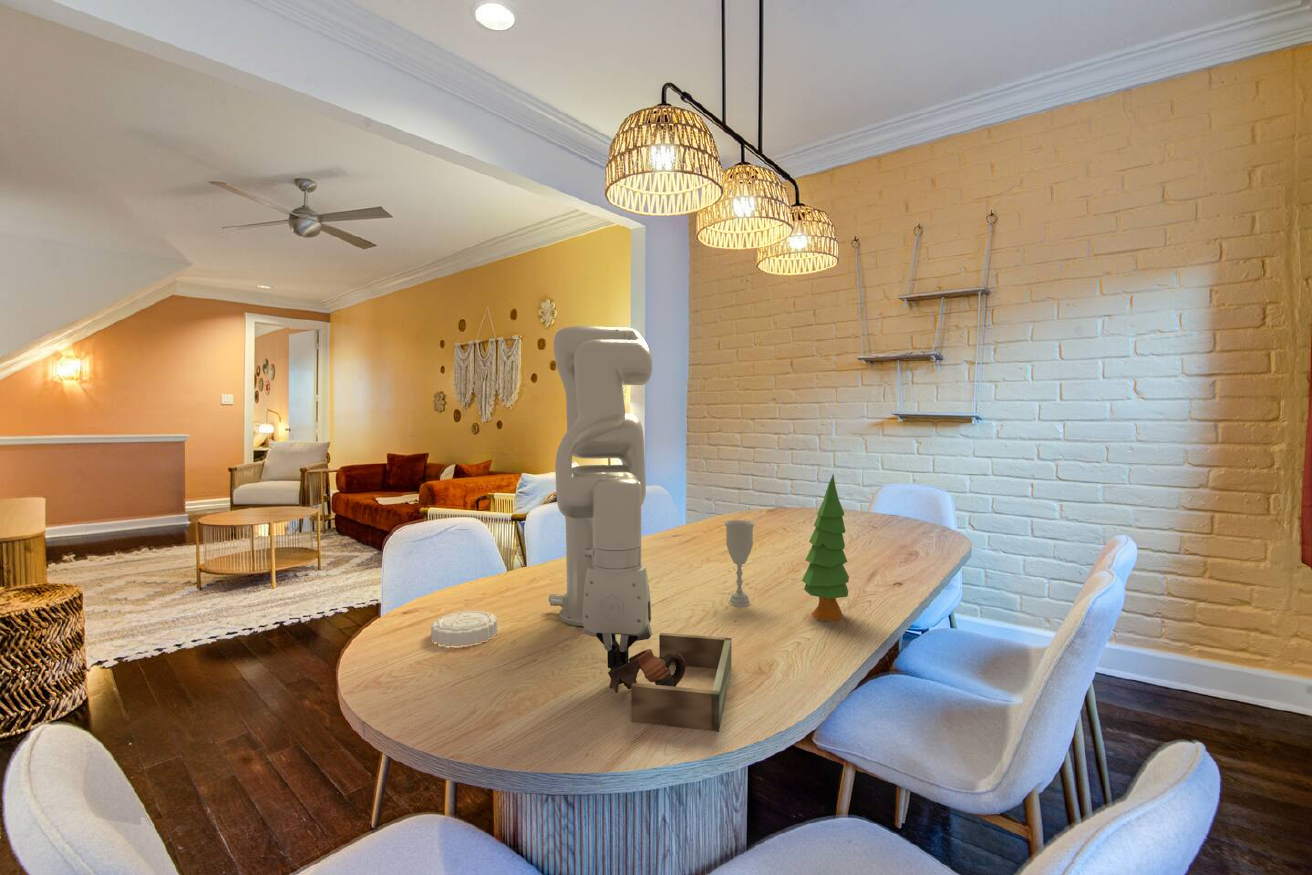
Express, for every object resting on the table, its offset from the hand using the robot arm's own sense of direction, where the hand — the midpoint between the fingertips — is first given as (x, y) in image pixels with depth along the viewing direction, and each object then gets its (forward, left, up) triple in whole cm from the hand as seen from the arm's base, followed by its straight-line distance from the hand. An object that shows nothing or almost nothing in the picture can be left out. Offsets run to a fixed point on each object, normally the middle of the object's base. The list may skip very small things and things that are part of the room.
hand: (618, 672), depth 91 cm
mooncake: (-34, +13, -2) cm, 37 cm away
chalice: (+16, +43, -2) cm, 46 cm away
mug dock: (+11, -1, -2) cm, 11 cm away
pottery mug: (+6, -4, -2) cm, 8 cm away
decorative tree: (+34, +38, -2) cm, 51 cm away
